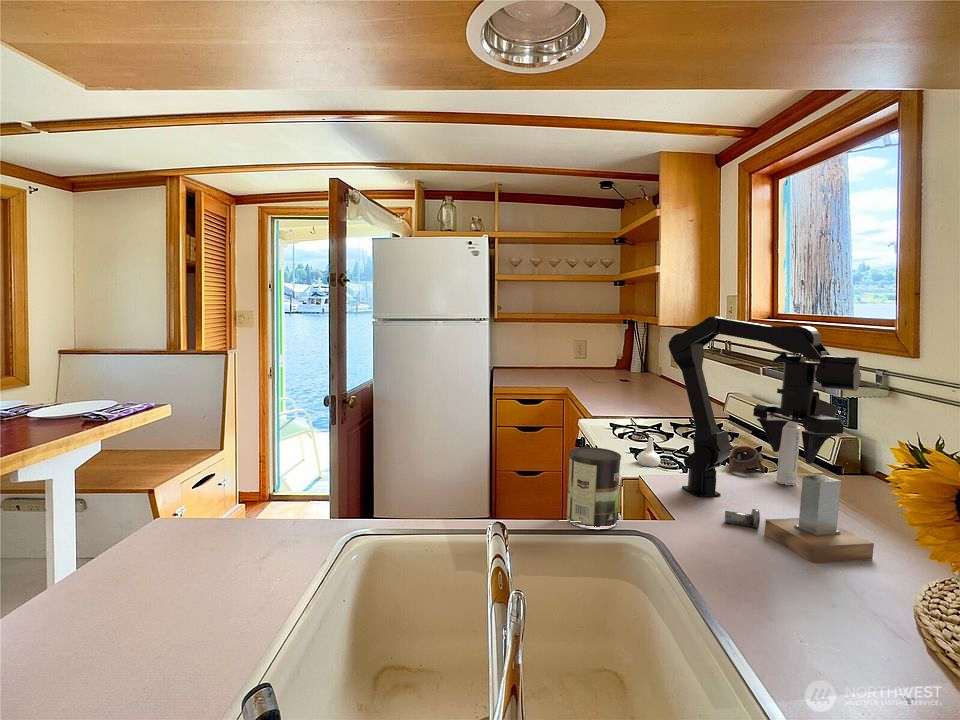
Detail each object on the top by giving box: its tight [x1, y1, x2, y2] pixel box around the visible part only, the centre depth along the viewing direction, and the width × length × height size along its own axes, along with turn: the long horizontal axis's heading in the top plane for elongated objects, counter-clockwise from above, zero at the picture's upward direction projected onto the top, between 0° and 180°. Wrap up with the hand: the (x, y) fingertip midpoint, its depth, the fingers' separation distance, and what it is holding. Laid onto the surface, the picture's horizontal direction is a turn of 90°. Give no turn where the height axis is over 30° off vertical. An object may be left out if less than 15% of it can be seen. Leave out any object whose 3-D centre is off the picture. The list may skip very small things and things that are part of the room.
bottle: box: [776, 415, 802, 486], centre depth 134 cm, size 4×4×20 cm
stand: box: [763, 517, 875, 564], centre depth 96 cm, size 12×12×3 cm
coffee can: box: [566, 446, 622, 527], centre depth 105 cm, size 10×10×14 cm
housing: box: [794, 474, 842, 537], centre depth 96 cm, size 4×6×10 cm
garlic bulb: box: [636, 437, 661, 468], centre depth 148 cm, size 6×6×8 cm
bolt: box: [724, 508, 761, 529], centre depth 105 cm, size 6×4×4 cm, turn 70°
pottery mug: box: [727, 445, 766, 473], centre depth 145 cm, size 12×9×8 cm
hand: (791, 457), depth 110 cm, fingers open, 9 cm apart
